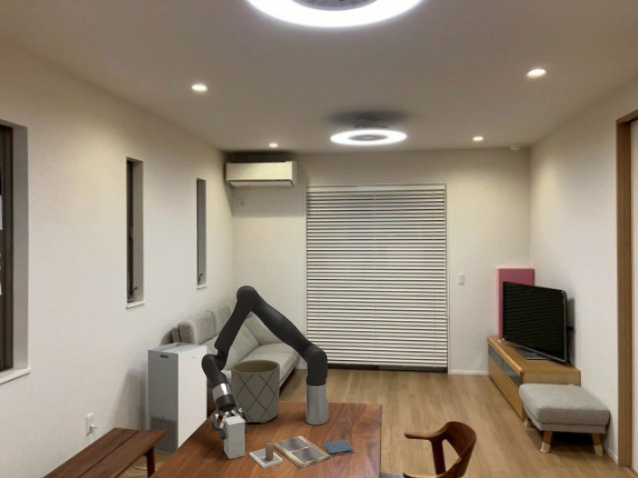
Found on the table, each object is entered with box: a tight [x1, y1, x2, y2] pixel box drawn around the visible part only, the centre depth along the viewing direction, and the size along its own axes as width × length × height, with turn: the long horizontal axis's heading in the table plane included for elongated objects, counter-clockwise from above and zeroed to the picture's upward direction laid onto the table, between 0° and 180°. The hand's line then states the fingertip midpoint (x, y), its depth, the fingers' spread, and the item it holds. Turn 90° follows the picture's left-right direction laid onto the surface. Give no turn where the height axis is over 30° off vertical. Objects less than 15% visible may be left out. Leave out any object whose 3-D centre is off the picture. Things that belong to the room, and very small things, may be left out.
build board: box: [273, 435, 331, 469], centre depth 178 cm, size 13×21×1 cm, turn 33°
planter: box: [230, 359, 281, 424], centre depth 215 cm, size 23×23×24 cm
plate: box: [248, 440, 284, 469], centre depth 173 cm, size 8×12×7 cm, turn 33°
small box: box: [223, 416, 246, 460], centre depth 178 cm, size 8×6×13 cm
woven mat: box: [322, 438, 355, 457], centre depth 181 cm, size 10×11×2 cm
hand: (235, 436), depth 177 cm, fingers open, 8 cm apart
